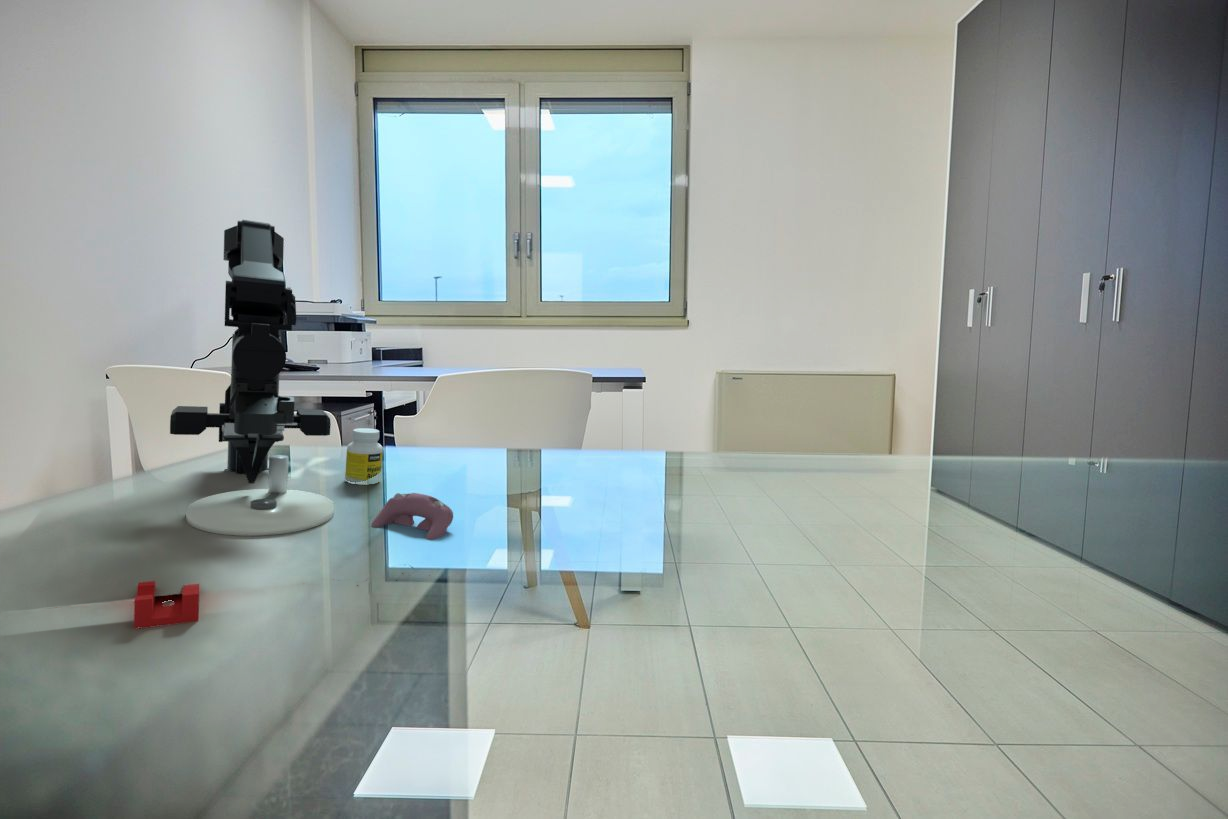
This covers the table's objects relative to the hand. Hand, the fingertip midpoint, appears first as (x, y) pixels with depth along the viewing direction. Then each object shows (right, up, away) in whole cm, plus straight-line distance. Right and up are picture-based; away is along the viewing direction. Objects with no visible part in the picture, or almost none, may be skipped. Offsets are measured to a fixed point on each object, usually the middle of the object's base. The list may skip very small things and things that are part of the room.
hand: (251, 482), depth 92 cm
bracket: (+8, -9, -29) cm, 31 cm away
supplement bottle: (+9, -3, +16) cm, 19 cm away
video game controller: (+23, -7, -3) cm, 24 cm away
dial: (+4, -4, -4) cm, 7 cm away
